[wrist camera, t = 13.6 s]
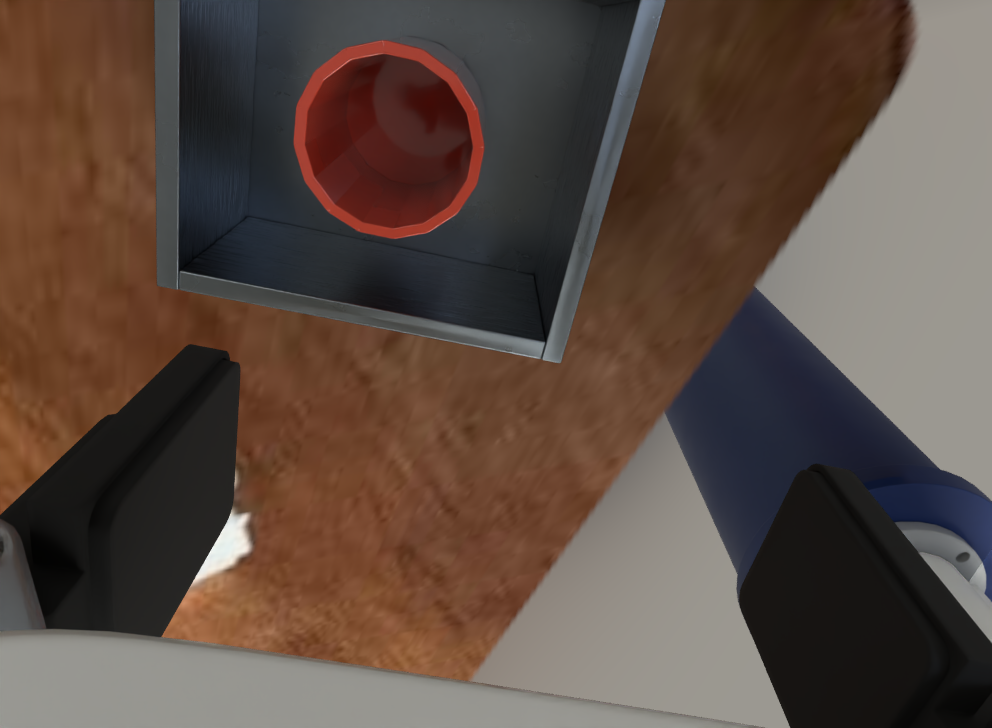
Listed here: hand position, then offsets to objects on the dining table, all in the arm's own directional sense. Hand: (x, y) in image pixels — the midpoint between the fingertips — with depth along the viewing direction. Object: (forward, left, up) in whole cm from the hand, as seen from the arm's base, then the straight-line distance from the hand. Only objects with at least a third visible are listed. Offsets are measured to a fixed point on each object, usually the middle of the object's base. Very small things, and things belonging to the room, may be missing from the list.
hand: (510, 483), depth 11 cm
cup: (+4, -2, -23) cm, 23 cm away
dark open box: (+4, -2, -24) cm, 24 cm away
